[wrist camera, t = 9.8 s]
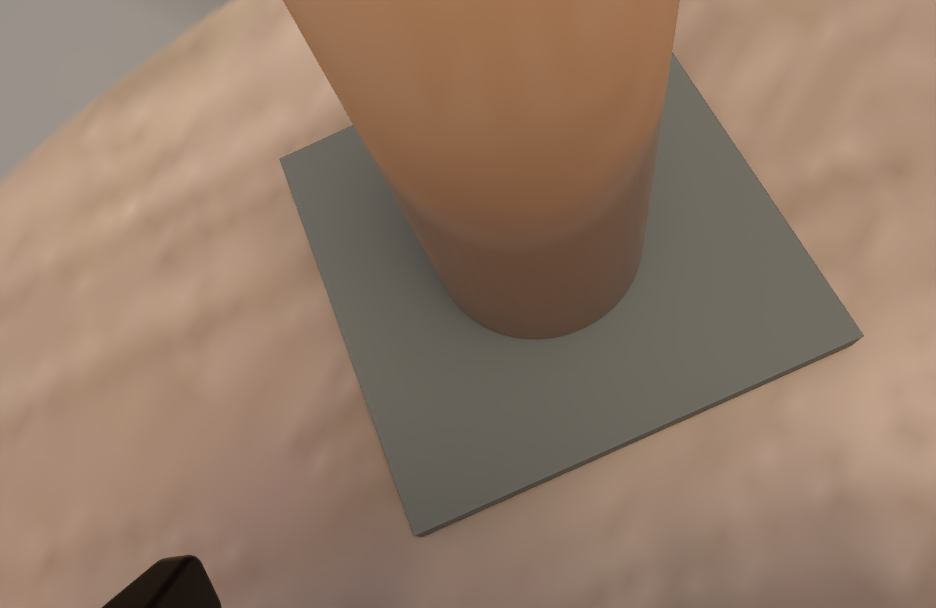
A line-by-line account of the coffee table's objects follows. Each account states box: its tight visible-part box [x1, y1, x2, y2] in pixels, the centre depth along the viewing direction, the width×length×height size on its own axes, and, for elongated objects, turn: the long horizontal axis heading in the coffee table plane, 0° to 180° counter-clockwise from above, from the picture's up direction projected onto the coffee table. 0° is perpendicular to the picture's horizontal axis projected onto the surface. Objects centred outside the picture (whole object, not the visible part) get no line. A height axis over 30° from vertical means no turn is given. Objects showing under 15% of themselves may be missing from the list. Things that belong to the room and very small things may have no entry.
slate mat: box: [280, 52, 864, 537], centre depth 18 cm, size 11×11×1 cm
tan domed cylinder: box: [283, 0, 680, 339], centre depth 11 cm, size 5×5×13 cm
